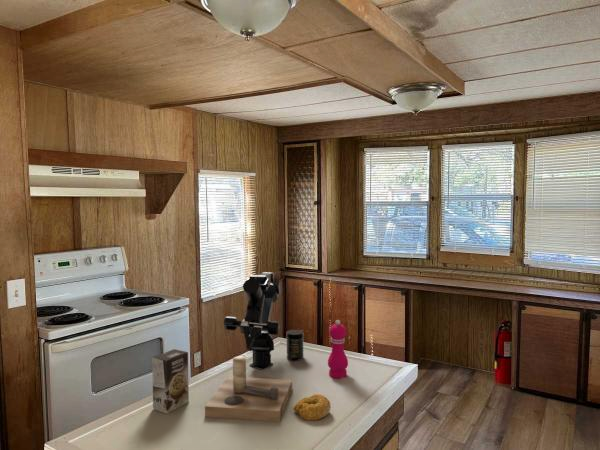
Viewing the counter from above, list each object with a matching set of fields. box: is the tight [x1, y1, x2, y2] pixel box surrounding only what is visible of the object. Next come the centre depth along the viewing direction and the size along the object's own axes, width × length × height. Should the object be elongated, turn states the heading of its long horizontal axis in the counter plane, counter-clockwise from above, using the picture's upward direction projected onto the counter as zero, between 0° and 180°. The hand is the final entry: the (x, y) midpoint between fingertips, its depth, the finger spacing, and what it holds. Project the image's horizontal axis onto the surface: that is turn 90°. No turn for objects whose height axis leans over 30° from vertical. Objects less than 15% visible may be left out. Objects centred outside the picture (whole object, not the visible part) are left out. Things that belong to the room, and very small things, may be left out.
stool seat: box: [204, 376, 293, 422], centre depth 141 cm, size 22×22×3 cm
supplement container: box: [285, 329, 304, 362], centre depth 179 cm, size 7×7×10 cm
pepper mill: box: [327, 319, 349, 379], centre depth 161 cm, size 7×7×20 cm
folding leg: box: [232, 355, 278, 399], centre depth 139 cm, size 4×15×10 cm, turn 66°
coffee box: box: [151, 348, 190, 414], centre depth 138 cm, size 9×6×16 cm
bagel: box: [293, 393, 332, 421], centre depth 134 cm, size 10×11×5 cm
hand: (247, 349), depth 151 cm, fingers closed
